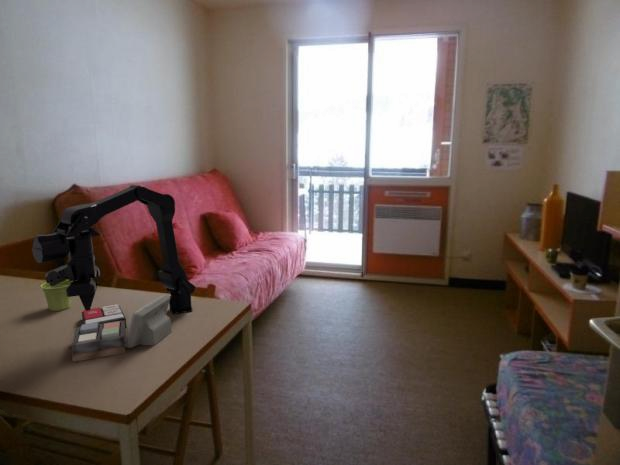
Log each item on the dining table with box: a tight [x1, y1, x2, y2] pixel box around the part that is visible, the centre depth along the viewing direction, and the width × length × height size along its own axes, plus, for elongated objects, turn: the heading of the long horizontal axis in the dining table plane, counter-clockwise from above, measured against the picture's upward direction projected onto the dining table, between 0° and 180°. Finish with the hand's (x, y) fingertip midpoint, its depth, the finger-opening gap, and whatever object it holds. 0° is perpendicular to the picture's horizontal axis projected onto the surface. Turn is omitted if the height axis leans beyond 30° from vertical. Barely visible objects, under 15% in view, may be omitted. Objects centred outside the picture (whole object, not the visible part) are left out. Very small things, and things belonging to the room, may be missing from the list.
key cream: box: [78, 333, 97, 343], centre depth 106 cm, size 4×4×2 cm
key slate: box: [80, 322, 99, 334], centre depth 111 cm, size 4×4×2 cm
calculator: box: [81, 303, 128, 329], centre depth 124 cm, size 11×4×15 cm
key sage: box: [102, 327, 120, 339], centre depth 108 cm, size 4×4×2 cm
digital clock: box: [125, 294, 172, 349], centre depth 114 cm, size 16×9×11 cm, turn 157°
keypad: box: [71, 320, 127, 362], centre depth 110 cm, size 12×14×4 cm
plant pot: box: [40, 279, 73, 312], centre depth 137 cm, size 9×9×9 cm
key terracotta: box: [103, 322, 120, 329], centre depth 113 cm, size 4×4×2 cm
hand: (87, 310), depth 110 cm, fingers closed
